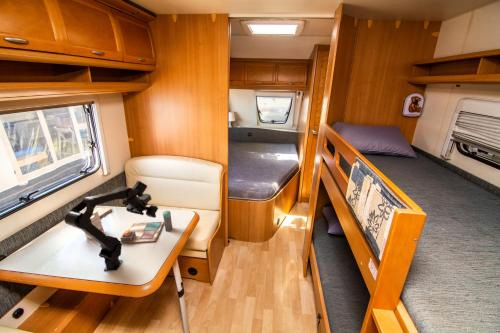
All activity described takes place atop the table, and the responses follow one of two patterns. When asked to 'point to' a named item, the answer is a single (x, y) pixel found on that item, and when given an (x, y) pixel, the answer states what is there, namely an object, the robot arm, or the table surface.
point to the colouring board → (143, 233)
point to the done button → (127, 233)
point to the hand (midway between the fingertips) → (149, 215)
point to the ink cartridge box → (95, 223)
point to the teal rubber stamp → (167, 221)
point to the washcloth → (102, 211)
